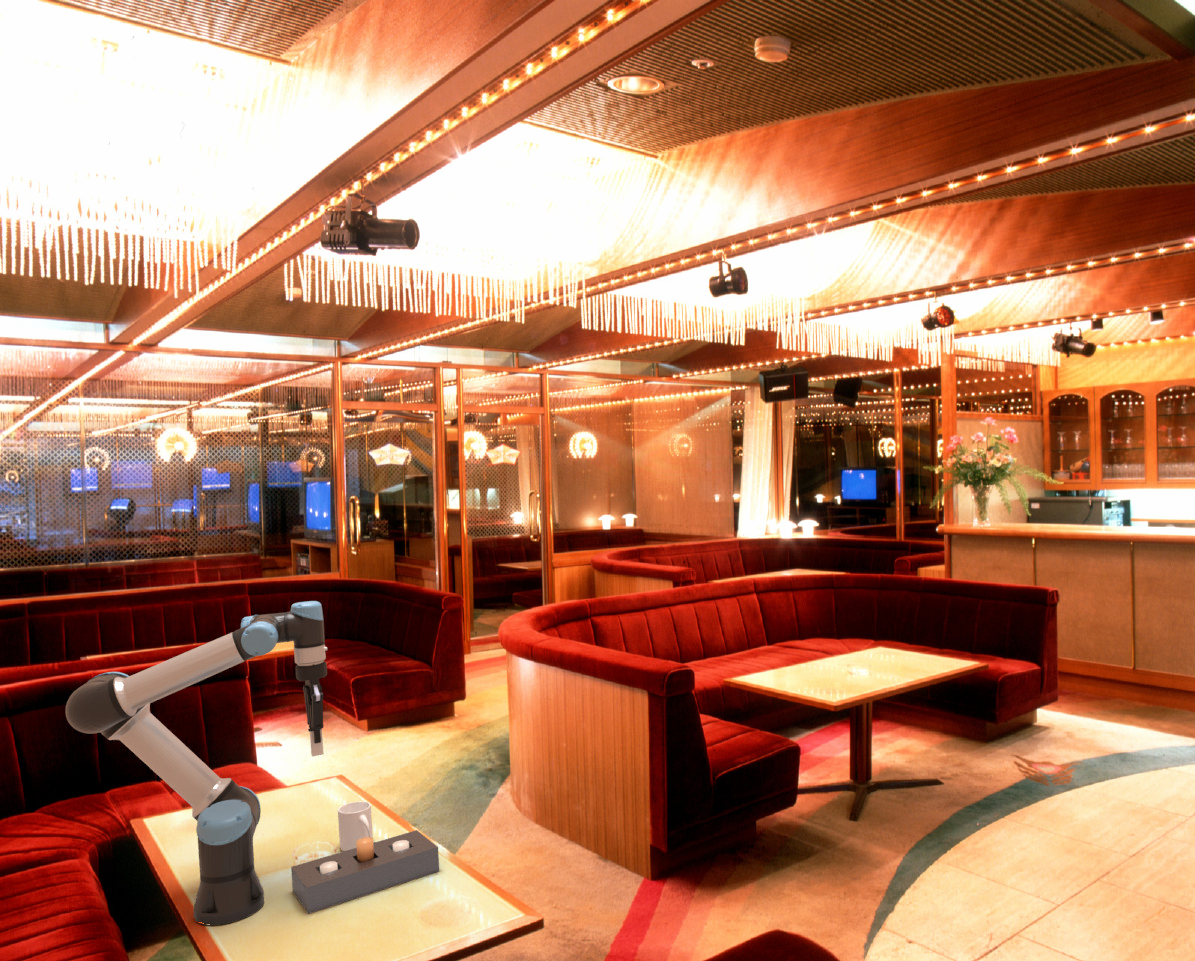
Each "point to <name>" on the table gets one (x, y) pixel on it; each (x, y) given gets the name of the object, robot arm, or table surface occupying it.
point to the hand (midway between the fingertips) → (317, 754)
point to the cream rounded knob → (400, 845)
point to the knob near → (328, 867)
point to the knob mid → (365, 849)
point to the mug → (354, 823)
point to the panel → (363, 872)
